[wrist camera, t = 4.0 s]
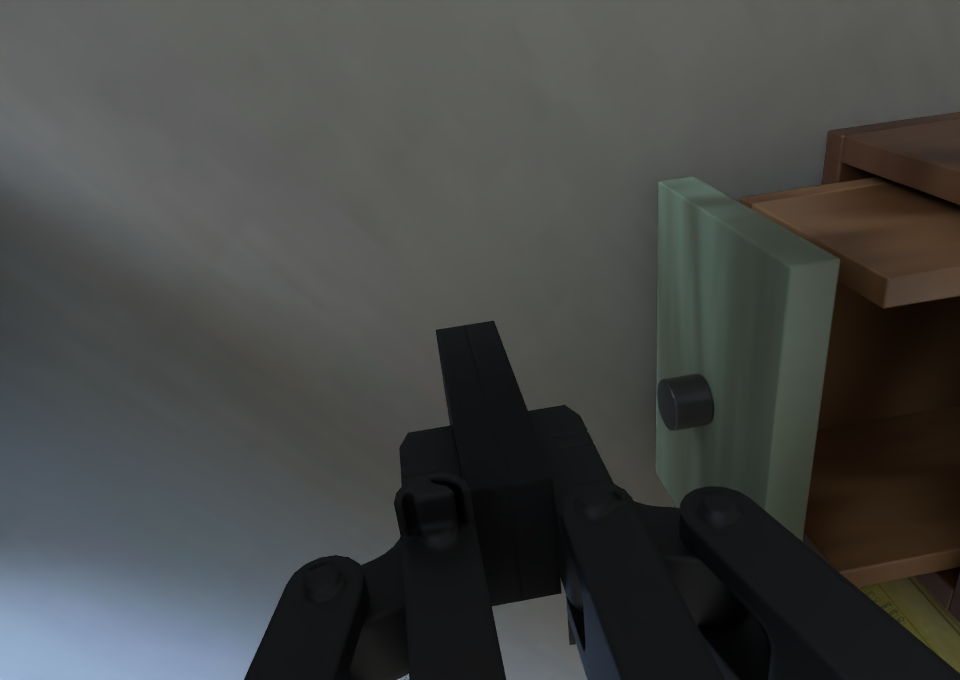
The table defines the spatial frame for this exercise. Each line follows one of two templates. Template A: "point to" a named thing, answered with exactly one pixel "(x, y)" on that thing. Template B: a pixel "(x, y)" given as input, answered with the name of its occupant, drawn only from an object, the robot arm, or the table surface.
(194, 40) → the table surface
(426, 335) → the table surface
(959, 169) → the cabinet
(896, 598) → the sauce bottle
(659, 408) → the drawer
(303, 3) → the table surface
